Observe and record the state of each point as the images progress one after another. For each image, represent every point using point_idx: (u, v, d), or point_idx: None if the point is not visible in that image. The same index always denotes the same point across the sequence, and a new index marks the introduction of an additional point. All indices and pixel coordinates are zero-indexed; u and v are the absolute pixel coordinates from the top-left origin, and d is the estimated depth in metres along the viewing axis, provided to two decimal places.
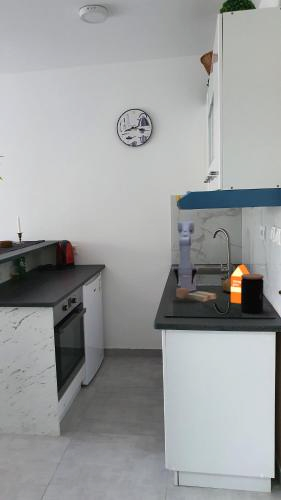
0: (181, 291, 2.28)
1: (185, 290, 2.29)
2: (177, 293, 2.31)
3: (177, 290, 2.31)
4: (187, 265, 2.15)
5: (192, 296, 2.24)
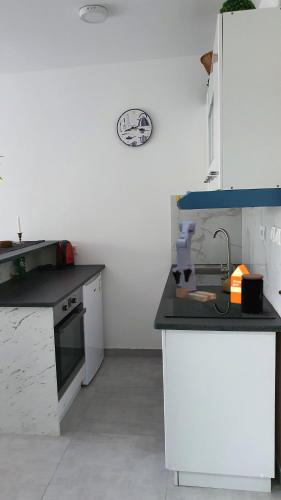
0: (181, 291, 2.28)
1: (185, 290, 2.29)
2: (177, 293, 2.31)
3: (177, 290, 2.31)
4: (186, 266, 2.29)
5: (192, 296, 2.24)
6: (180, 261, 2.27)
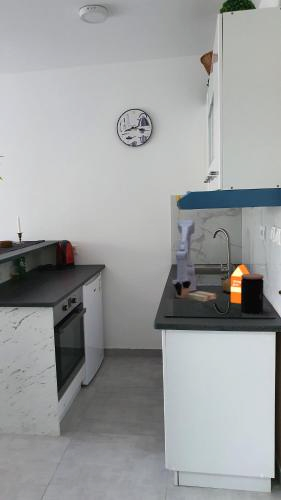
0: (181, 291, 2.28)
1: (185, 290, 2.29)
2: None
3: None
4: (187, 278, 2.29)
5: (192, 296, 2.24)
6: (180, 273, 2.27)
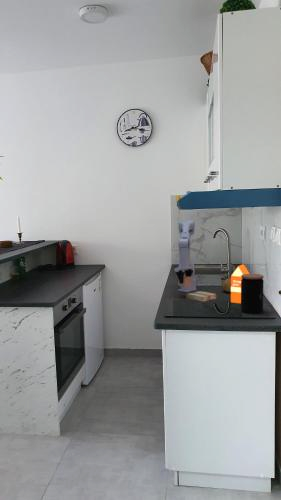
0: (183, 279, 2.27)
1: (187, 278, 2.28)
2: None
3: None
4: (189, 266, 2.28)
5: (192, 296, 2.24)
6: (182, 261, 2.26)
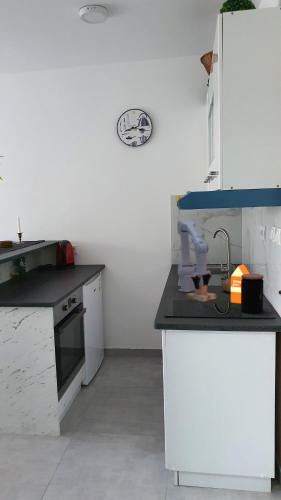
0: (200, 288, 2.24)
1: (204, 287, 2.25)
2: (195, 290, 2.27)
3: None
4: (206, 271, 2.25)
5: (192, 296, 2.24)
6: (199, 266, 2.23)
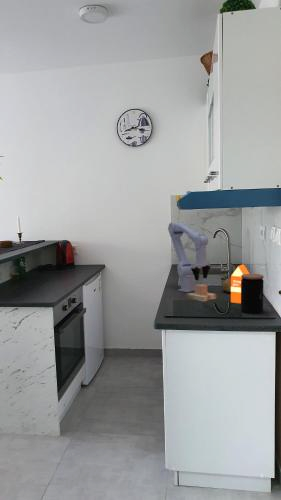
0: (200, 288, 2.24)
1: (204, 287, 2.25)
2: (195, 290, 2.27)
3: (196, 287, 2.26)
4: (205, 262, 2.34)
5: (192, 296, 2.24)
6: (199, 258, 2.32)
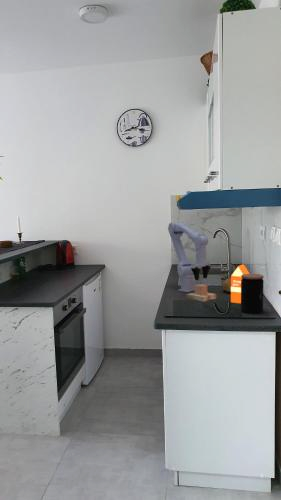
0: (200, 288, 2.24)
1: (204, 287, 2.25)
2: (195, 290, 2.27)
3: (196, 287, 2.26)
4: (205, 262, 2.34)
5: (192, 296, 2.24)
6: (199, 258, 2.32)
